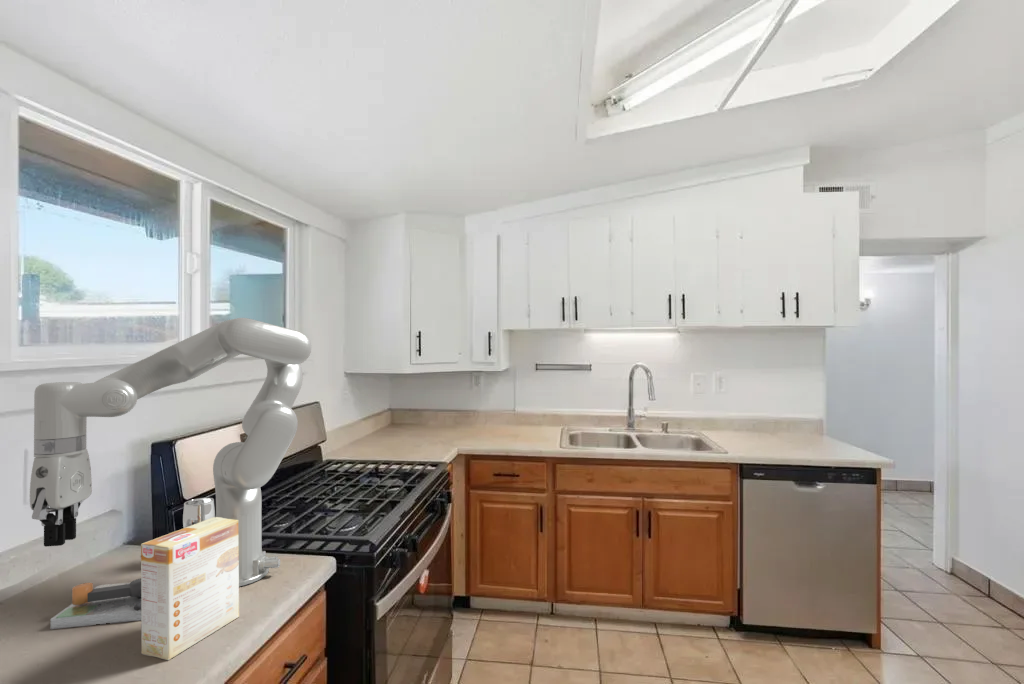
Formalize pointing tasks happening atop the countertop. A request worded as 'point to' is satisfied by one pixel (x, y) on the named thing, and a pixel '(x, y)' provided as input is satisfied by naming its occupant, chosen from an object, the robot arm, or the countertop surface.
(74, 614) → the panel
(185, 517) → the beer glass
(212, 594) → the coffeecake box
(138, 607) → the cord bundle
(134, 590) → the breaker lever
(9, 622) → the countertop surface
